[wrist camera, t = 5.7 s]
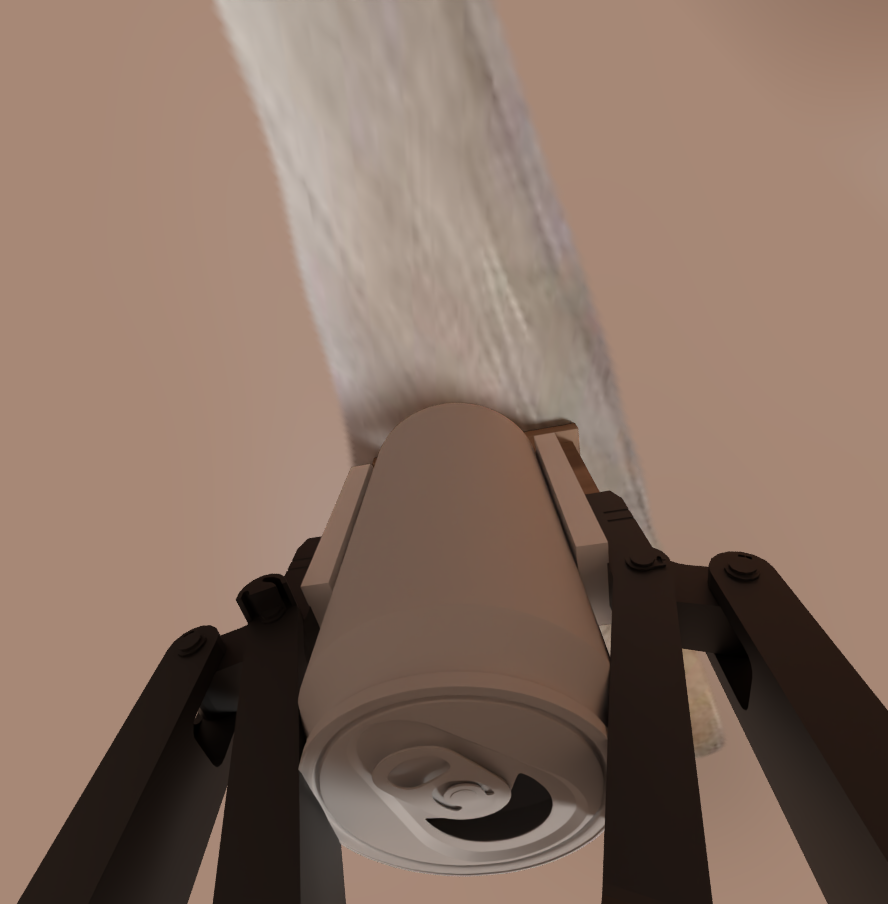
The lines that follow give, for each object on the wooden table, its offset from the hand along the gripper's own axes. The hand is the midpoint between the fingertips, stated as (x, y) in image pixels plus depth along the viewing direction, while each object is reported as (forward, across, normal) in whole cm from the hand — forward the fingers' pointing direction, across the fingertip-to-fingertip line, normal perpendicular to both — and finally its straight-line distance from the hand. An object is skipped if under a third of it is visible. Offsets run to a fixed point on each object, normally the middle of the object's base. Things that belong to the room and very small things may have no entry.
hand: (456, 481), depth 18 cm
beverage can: (+1, 0, 0) cm, 1 cm away
